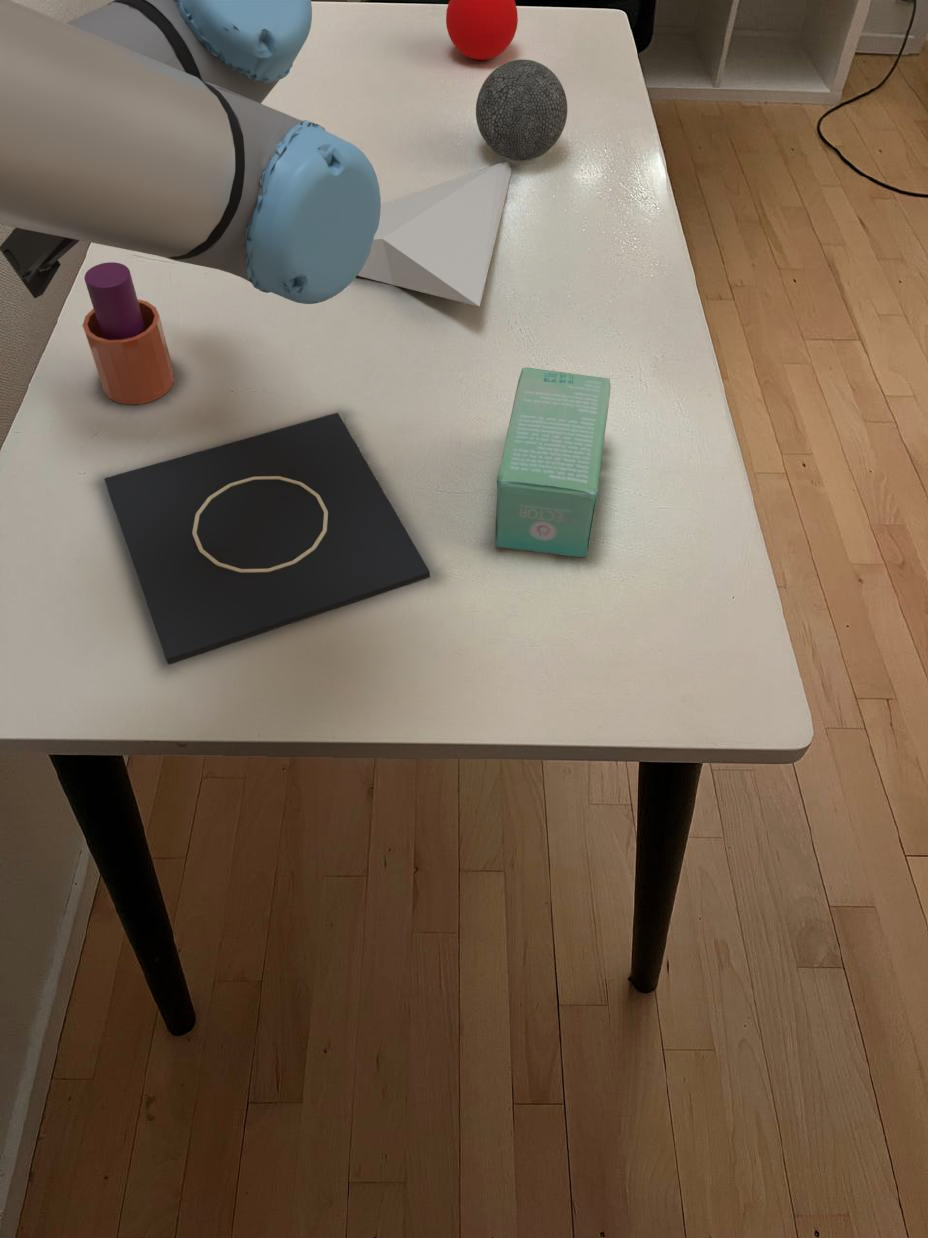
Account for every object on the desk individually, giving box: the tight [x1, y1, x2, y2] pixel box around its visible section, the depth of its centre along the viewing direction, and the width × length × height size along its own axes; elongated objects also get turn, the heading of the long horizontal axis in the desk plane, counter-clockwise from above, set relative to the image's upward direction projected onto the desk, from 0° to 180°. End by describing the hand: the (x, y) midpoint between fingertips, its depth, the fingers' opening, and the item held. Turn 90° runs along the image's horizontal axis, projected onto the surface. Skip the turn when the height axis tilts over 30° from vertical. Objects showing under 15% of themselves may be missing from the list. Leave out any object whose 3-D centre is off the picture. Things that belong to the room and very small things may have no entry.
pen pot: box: [82, 298, 175, 406], centre depth 91 cm, size 6×6×6 cm
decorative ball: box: [475, 59, 568, 162], centre depth 116 cm, size 10×10×10 cm
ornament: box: [445, 0, 519, 61], centre depth 132 cm, size 9×9×10 cm
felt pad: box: [104, 412, 431, 664], centre depth 82 cm, size 20×20×1 cm
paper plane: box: [356, 160, 513, 307], centre depth 108 cm, size 26×28×4 cm
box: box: [494, 367, 612, 558], centre depth 82 cm, size 7×14×8 cm, turn 171°
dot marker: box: [84, 261, 146, 340], centre depth 89 cm, size 4×4×10 cm
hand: (82, 253), depth 86 cm, fingers open, 10 cm apart
